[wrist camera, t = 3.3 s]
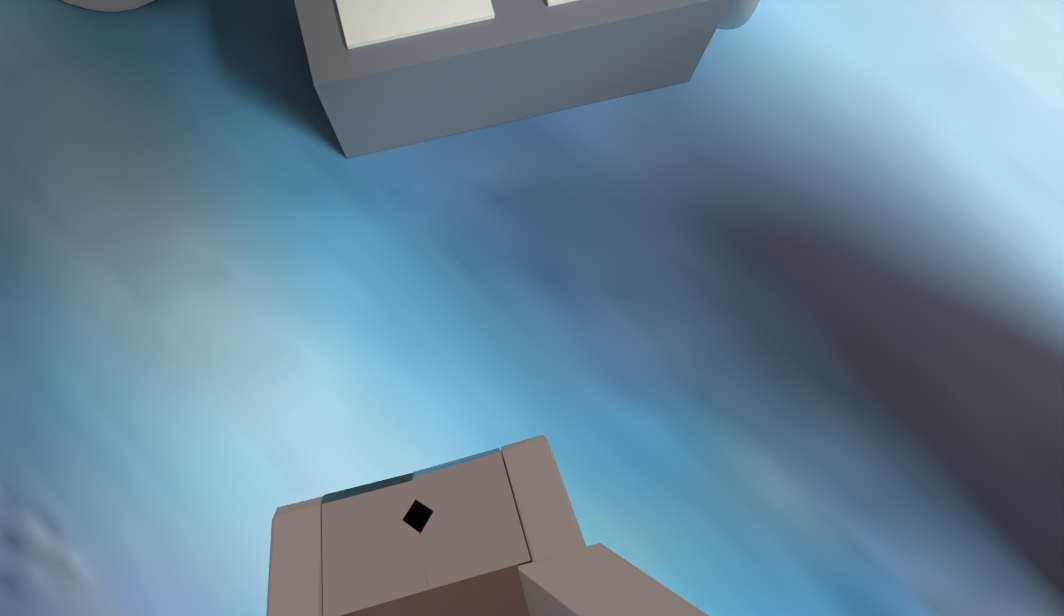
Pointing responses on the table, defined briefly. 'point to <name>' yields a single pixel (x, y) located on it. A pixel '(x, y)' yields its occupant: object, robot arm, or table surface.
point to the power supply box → (493, 59)
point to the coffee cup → (108, 4)
